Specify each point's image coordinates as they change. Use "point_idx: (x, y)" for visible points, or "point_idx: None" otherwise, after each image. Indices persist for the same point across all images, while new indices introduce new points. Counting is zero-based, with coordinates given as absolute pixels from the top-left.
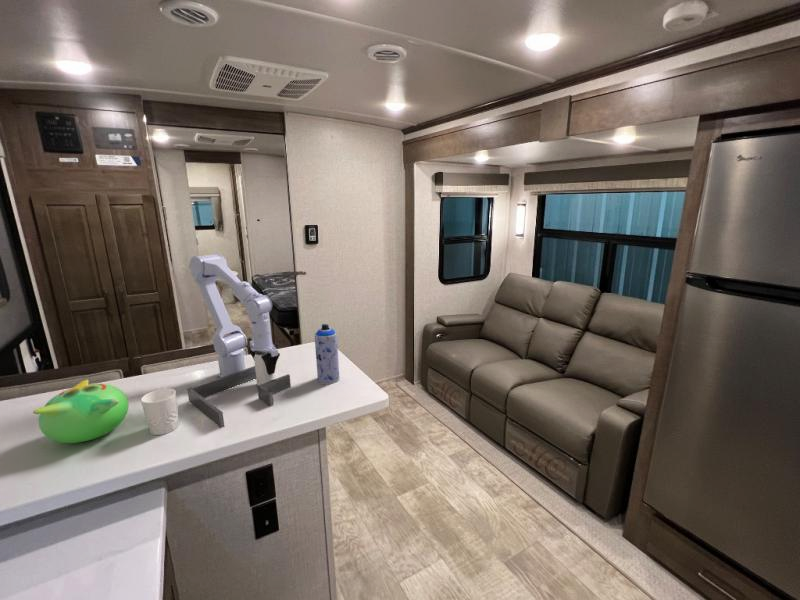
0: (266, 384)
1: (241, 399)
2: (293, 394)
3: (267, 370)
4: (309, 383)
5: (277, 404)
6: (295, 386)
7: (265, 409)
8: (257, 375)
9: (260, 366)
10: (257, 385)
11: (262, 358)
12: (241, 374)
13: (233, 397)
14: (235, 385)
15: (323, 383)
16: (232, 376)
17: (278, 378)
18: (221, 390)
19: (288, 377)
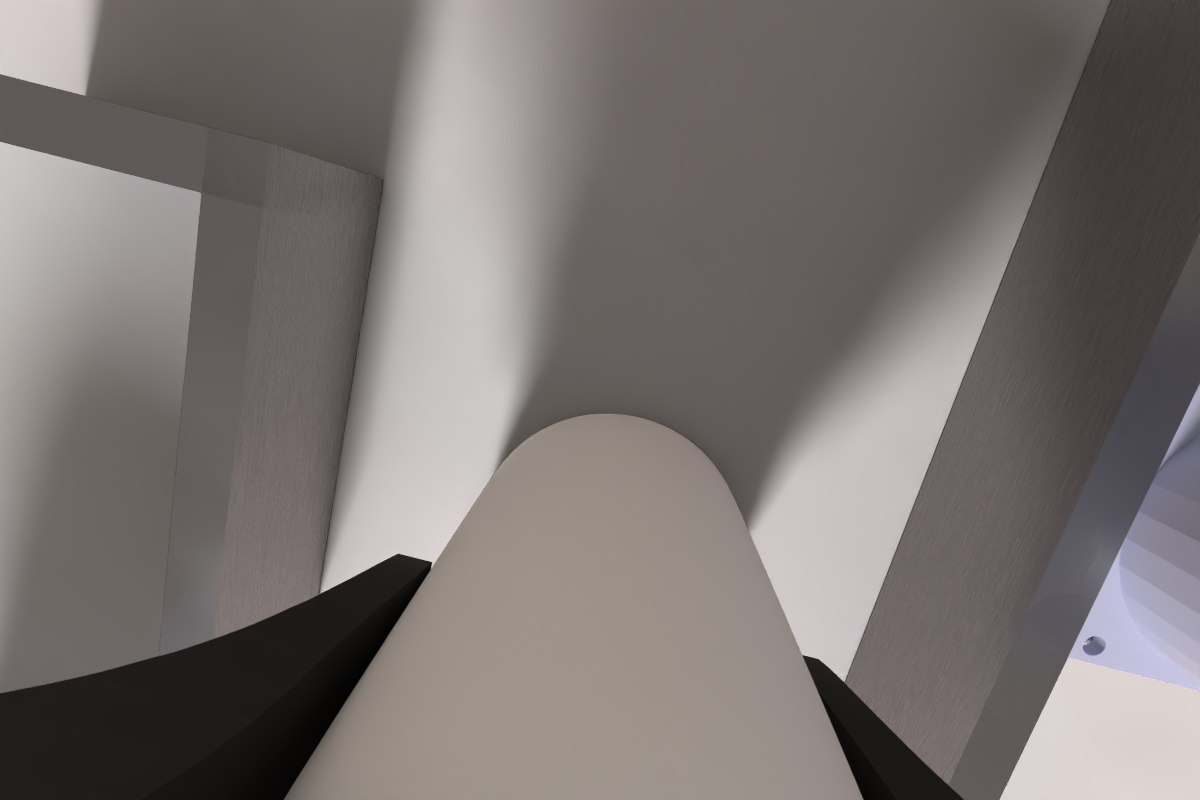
0: (199, 287)
1: (594, 51)
2: (107, 470)
3: (356, 585)
4: None
5: (56, 186)
6: None
7: (70, 6)
8: (631, 474)
9: (486, 589)
10: (673, 431)
11: (95, 792)
12: (1053, 450)
13: (754, 37)
14: (1003, 301)
15: None
16: (1145, 279)
17: (199, 545)
18: (1096, 73)
19: None
